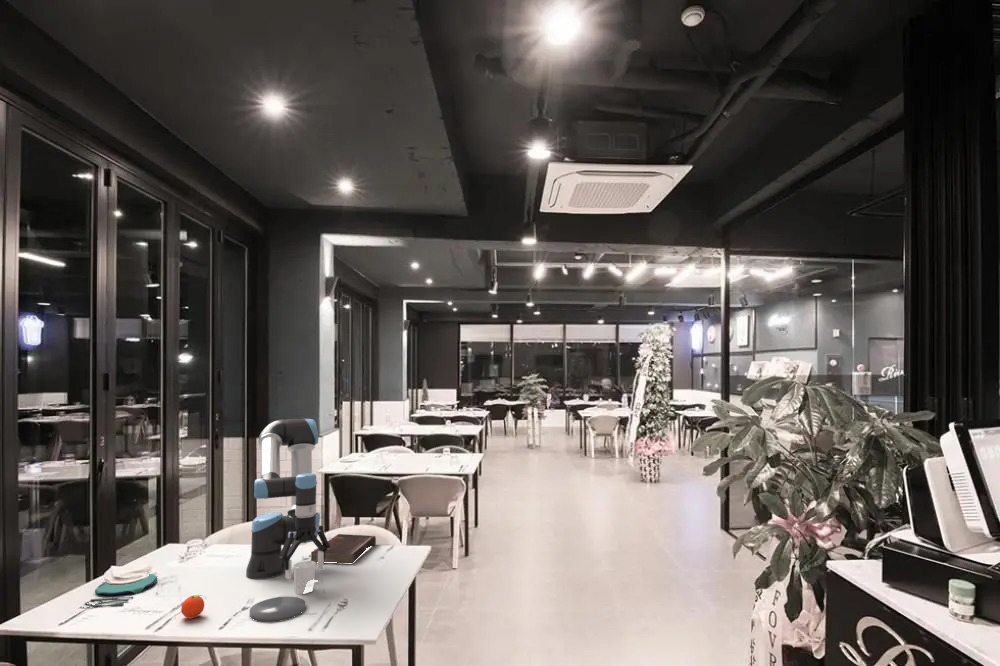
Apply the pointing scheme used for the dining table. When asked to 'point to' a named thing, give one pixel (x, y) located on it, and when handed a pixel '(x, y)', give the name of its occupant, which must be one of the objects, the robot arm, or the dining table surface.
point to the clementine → (192, 606)
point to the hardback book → (345, 548)
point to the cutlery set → (121, 590)
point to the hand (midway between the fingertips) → (304, 573)
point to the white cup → (303, 575)
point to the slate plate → (277, 609)
